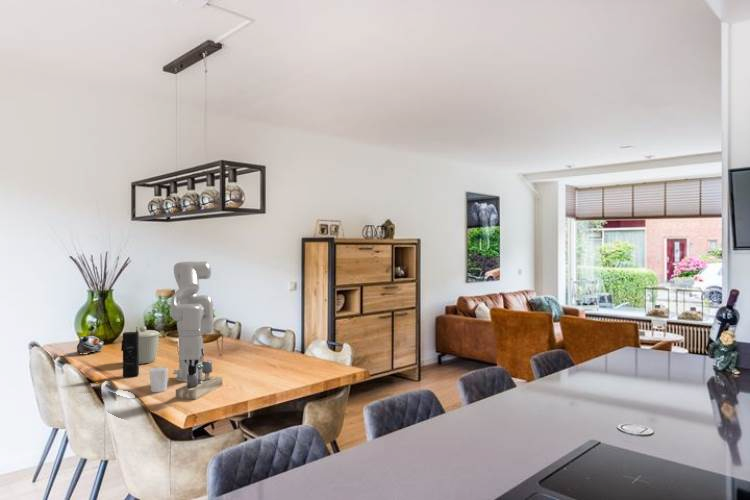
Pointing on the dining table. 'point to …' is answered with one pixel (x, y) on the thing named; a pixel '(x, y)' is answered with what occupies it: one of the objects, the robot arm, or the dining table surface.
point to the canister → (147, 345)
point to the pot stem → (200, 373)
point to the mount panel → (199, 388)
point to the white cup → (159, 379)
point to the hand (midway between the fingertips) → (192, 374)
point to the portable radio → (130, 354)
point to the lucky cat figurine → (89, 344)
